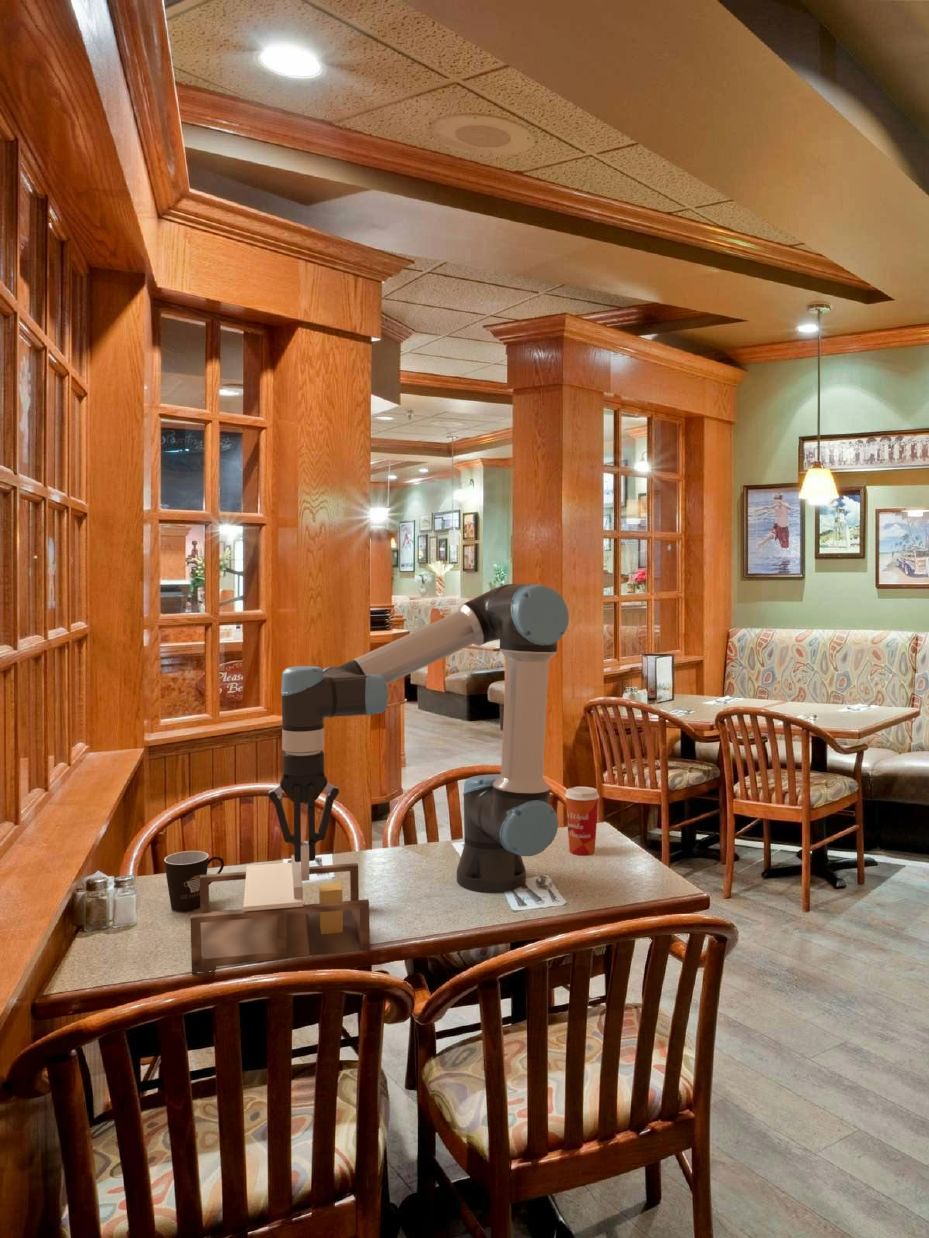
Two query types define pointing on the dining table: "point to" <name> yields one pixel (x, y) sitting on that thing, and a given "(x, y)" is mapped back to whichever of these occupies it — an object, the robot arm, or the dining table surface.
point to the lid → (273, 886)
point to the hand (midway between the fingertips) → (305, 878)
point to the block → (331, 919)
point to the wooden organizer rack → (275, 927)
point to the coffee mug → (186, 878)
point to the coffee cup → (582, 819)
